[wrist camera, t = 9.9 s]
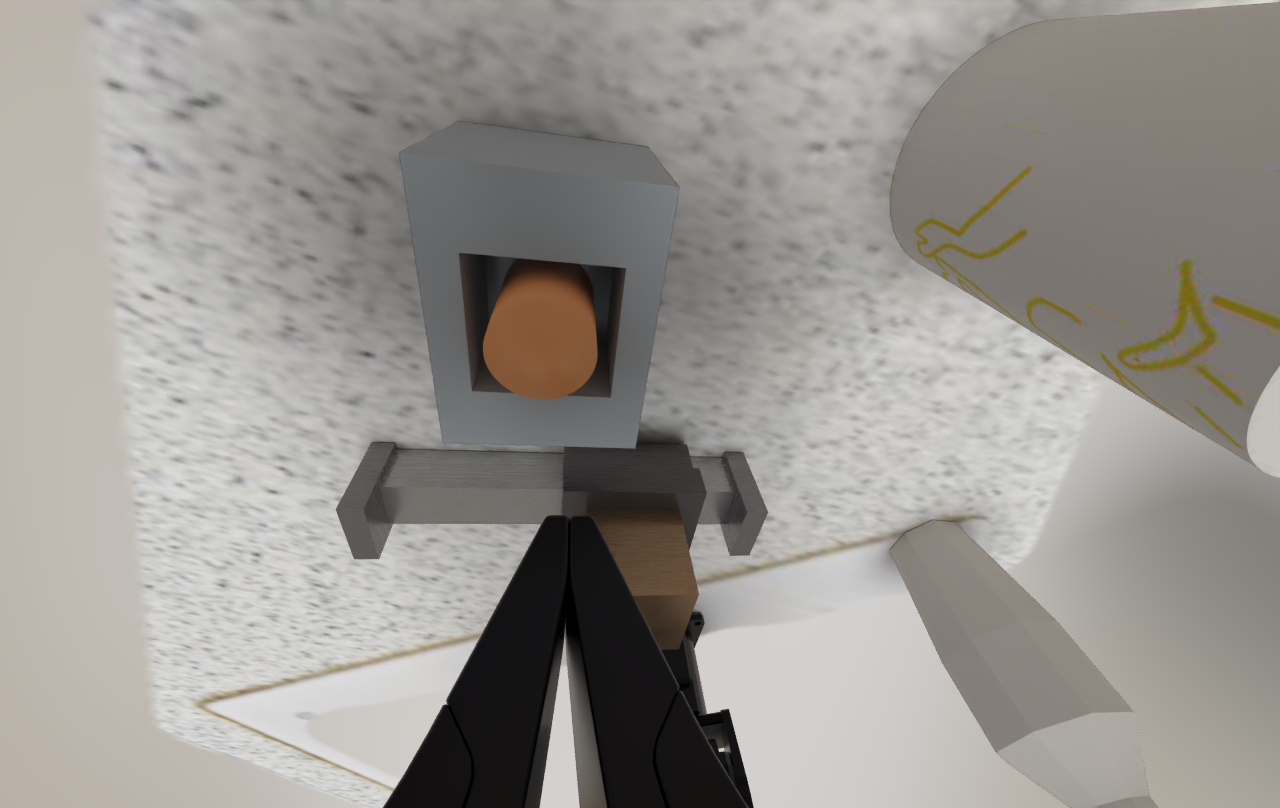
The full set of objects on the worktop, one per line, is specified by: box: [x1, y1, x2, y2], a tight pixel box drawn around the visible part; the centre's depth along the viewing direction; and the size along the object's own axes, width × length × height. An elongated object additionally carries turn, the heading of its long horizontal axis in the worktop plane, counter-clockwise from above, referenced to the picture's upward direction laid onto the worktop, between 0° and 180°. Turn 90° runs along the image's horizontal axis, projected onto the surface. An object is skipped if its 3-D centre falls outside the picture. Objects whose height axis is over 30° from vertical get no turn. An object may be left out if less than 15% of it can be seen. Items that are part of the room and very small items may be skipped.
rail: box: [336, 442, 768, 559], centre depth 22 cm, size 3×18×4 cm, turn 82°
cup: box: [890, 2, 1280, 478], centre depth 12 cm, size 8×8×12 cm
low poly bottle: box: [890, 520, 1158, 808], centre depth 22 cm, size 6×6×22 cm
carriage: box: [562, 443, 707, 650], centre depth 21 cm, size 6×6×8 cm
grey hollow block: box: [399, 121, 679, 448], centre depth 15 cm, size 8×6×6 cm
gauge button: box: [483, 258, 597, 399], centre depth 13 cm, size 3×3×4 cm
